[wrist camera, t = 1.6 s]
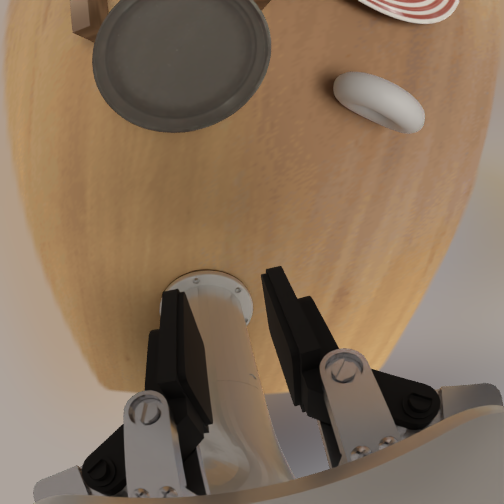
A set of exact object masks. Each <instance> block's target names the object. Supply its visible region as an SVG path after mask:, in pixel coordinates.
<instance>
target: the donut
mask: <svg viewBox="0 0 504 504" xmlns="http://www.w3.org/2000/svg"><path fill="white" fill-rule="evenodd" d="M333 91H334V95H335V97H336V98H337V100H338V101H339V102H340V103H341V104H342V105H344V106H345V107H347V108H348V109H350V110H351V111H353V112H355V113H357V114H359V115H361V116H363V117H364V118H367V119H369V120H371V121H373V122H375V123H377V124H380V125H382V126H384V127H387V128H389V129H392V130H395V131H398V132H401V133H409V134H410V133H415V132H418V131H419V130H420V129H421V128H422V127H423V125H424V120H425V114H424V110H423V108H422V106H421V105H420V103H419V102H418V101H417V100H416V99H415V98H414V97H413V96H412V95H411V94H409V93H408V92H407V91H405V90H404V89H402V88H401V87H399V86H398V85H396V84H394V83H392V82H390V81H388V80H386V79H383V78H380V77H378V76H375V75H372V74H368V73H363V72H347V73H344V74H341V75H339V76H338V77H337V78H336V80H335V81H334V86H333Z"/></svg>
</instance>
